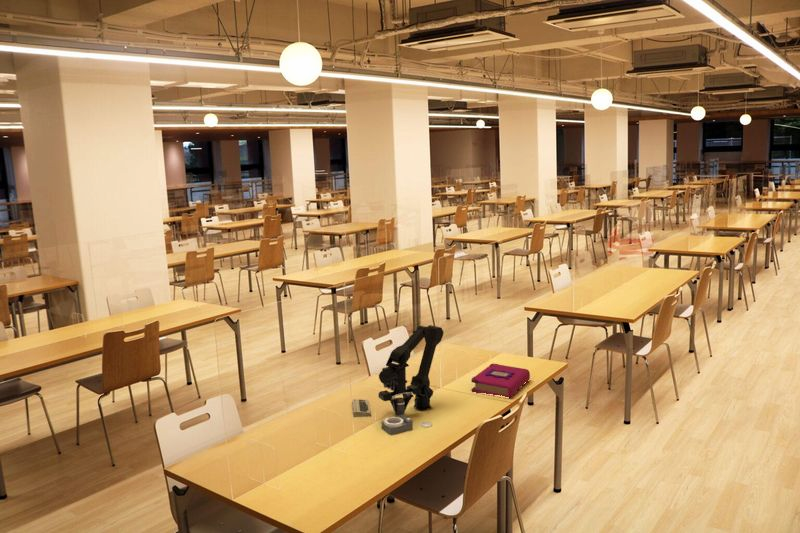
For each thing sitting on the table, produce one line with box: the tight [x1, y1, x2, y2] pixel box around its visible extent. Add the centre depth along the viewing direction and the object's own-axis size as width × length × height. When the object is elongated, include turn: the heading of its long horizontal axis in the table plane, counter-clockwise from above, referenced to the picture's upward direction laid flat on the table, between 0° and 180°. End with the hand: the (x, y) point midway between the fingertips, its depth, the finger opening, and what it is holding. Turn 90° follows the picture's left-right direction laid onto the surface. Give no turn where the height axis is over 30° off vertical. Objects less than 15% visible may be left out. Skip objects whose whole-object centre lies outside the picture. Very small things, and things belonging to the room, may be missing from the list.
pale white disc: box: [420, 421, 433, 429], centre depth 301 cm, size 5×5×1 cm
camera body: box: [381, 414, 414, 436], centre depth 297 cm, size 11×8×5 cm
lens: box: [394, 397, 406, 417], centre depth 308 cm, size 5×5×7 cm
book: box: [470, 363, 531, 398], centre depth 346 cm, size 21×28×8 cm
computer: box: [351, 398, 372, 418], centre depth 318 cm, size 16×8×3 cm, turn 6°
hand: (399, 410), depth 308 cm, fingers closed on lens, 4 cm apart
